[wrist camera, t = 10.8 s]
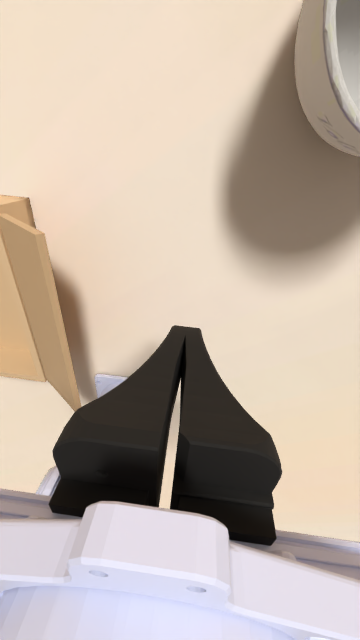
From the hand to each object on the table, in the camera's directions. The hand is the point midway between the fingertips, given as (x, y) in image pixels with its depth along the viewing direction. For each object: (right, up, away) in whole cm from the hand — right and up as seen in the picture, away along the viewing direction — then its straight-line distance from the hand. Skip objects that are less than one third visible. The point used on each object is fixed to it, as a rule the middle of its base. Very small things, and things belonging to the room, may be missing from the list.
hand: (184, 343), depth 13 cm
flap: (-11, +1, +7) cm, 13 cm away
